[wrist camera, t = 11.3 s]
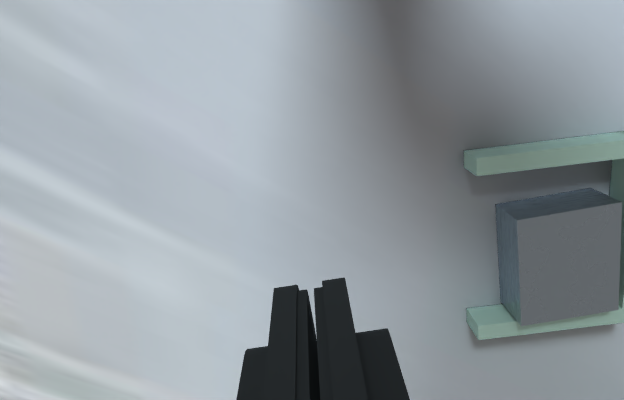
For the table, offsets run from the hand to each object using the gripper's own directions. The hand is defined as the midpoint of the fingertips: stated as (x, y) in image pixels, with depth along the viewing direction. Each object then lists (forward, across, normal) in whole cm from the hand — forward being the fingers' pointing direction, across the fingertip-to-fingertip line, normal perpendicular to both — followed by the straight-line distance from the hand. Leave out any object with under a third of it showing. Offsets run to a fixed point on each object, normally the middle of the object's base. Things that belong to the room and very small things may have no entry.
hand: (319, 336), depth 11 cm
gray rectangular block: (+29, -20, +15) cm, 38 cm away
